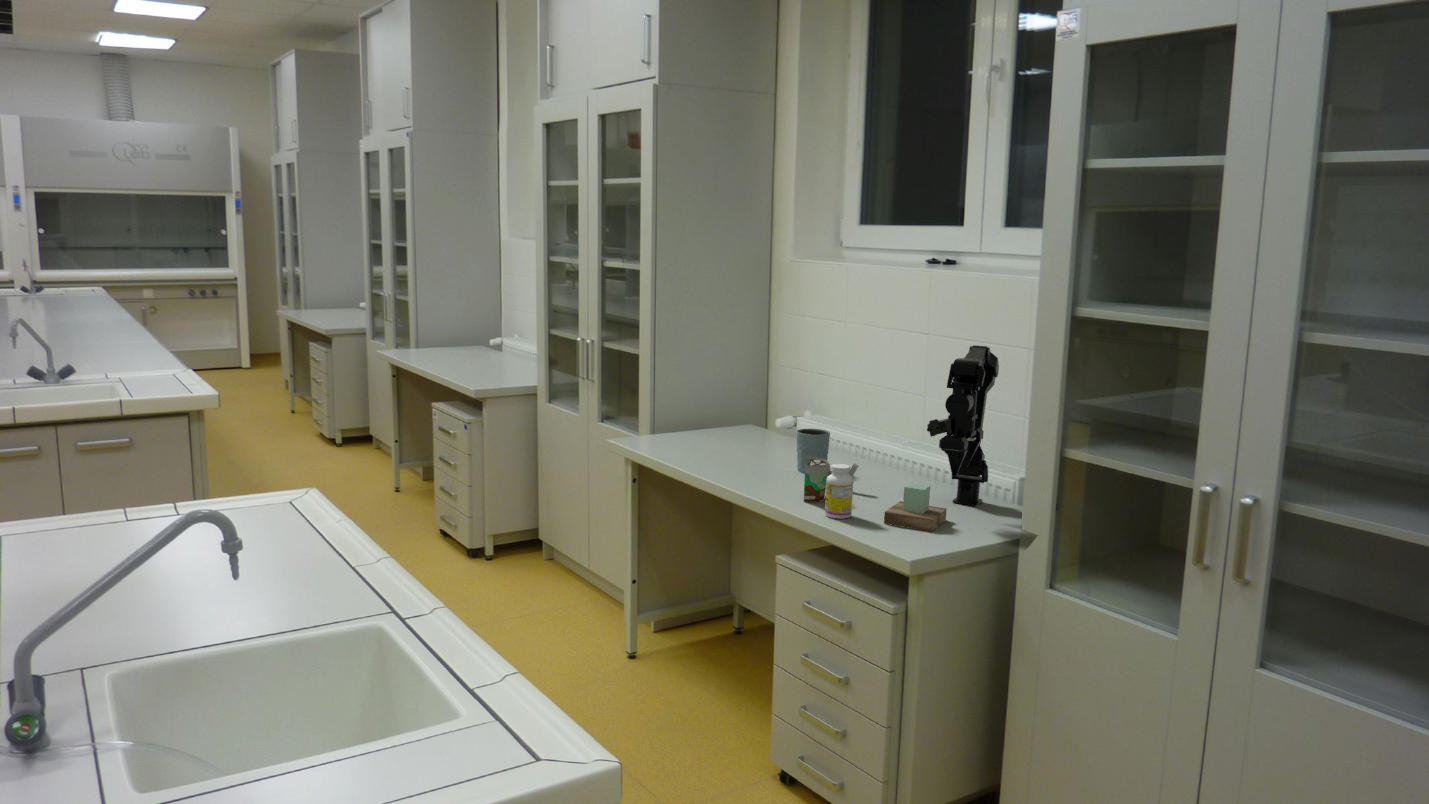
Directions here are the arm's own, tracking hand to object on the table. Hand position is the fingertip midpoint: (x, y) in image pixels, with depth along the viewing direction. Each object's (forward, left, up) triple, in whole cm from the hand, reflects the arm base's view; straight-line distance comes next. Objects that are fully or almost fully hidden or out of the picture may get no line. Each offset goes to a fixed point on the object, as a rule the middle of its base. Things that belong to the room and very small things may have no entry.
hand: (959, 471), depth 254 cm
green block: (+10, -7, -9) cm, 16 cm away
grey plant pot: (-26, -50, -12) cm, 58 cm away
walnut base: (+11, -7, -12) cm, 17 cm away
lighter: (-9, -33, -12) cm, 36 cm away
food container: (+3, -36, -12) cm, 39 cm away
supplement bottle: (+16, -25, -12) cm, 33 cm away
